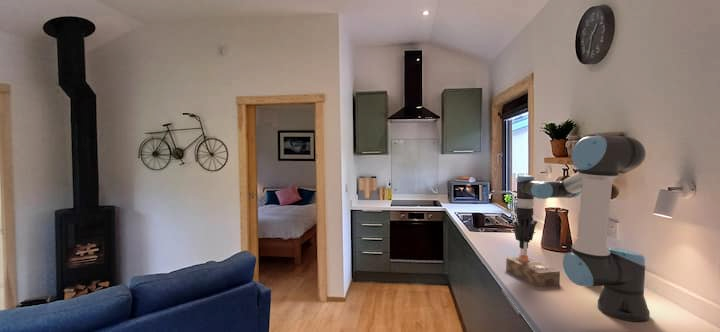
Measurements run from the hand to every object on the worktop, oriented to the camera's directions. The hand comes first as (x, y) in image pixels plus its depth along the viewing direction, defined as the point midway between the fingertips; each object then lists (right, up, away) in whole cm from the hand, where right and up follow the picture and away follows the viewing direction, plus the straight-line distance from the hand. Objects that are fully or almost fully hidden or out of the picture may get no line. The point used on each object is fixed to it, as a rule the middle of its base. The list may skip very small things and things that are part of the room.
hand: (523, 254), depth 164 cm
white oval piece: (+2, -9, -11) cm, 14 cm away
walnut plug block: (+1, -9, -5) cm, 10 cm away
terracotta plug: (0, -6, 0) cm, 6 cm away
